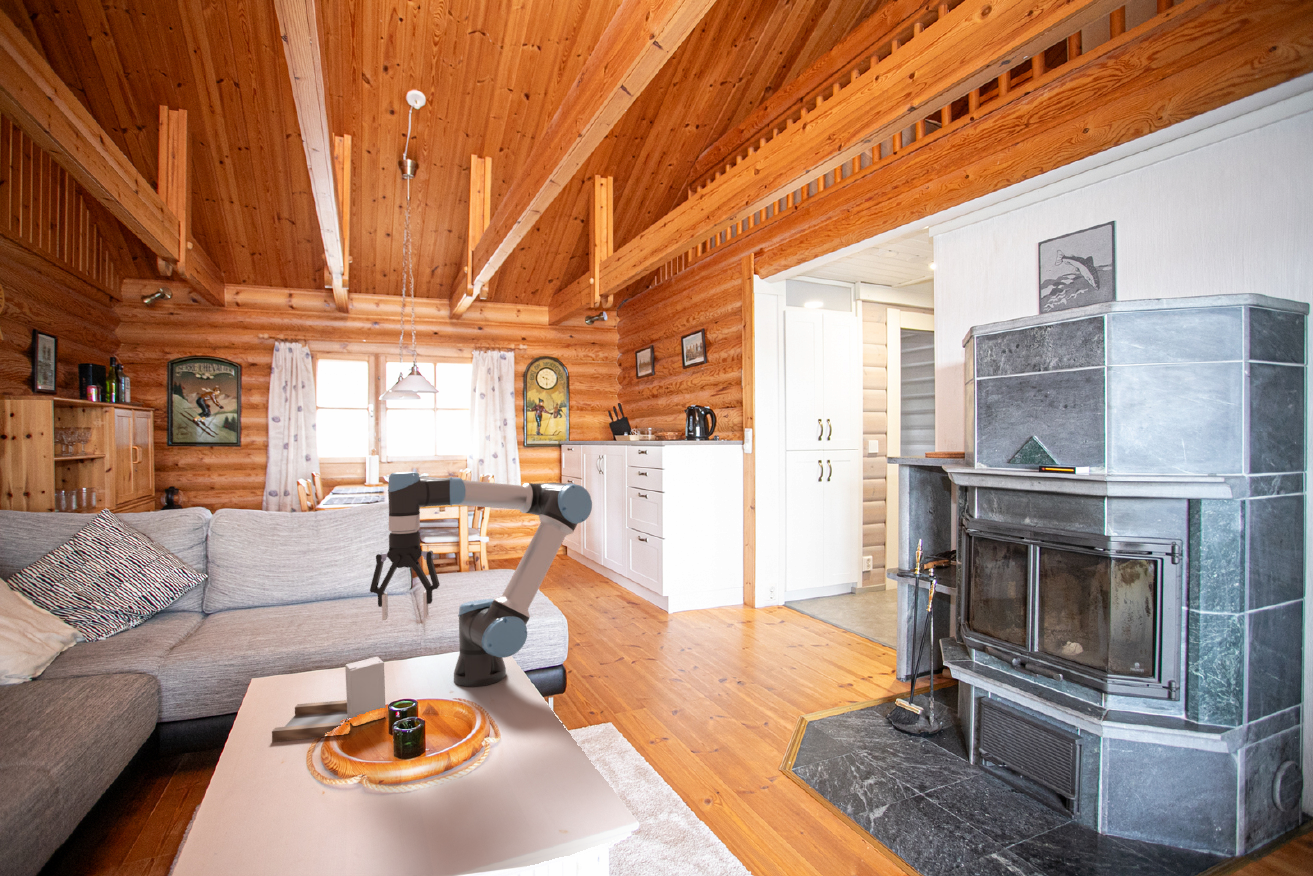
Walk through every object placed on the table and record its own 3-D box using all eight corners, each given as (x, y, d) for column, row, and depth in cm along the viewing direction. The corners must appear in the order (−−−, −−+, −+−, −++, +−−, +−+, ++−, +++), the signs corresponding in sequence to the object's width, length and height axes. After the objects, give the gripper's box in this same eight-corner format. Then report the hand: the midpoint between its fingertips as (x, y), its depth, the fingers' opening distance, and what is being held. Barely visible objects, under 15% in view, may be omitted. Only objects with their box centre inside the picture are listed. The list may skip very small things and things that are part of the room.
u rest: (366, 707, 168) (366, 698, 168) (348, 734, 153) (348, 724, 153) (297, 713, 165) (297, 704, 165) (272, 742, 150) (271, 731, 150)
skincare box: (379, 711, 166) (379, 655, 166) (386, 719, 161) (385, 661, 161) (345, 721, 161) (344, 662, 161) (351, 729, 156) (350, 669, 156)
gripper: (450, 527, 169) (451, 611, 169) (363, 531, 165) (364, 616, 165) (446, 531, 161) (447, 618, 161) (354, 535, 158) (356, 624, 157)
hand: (405, 617), depth 163 cm, fingers open, 9 cm apart
